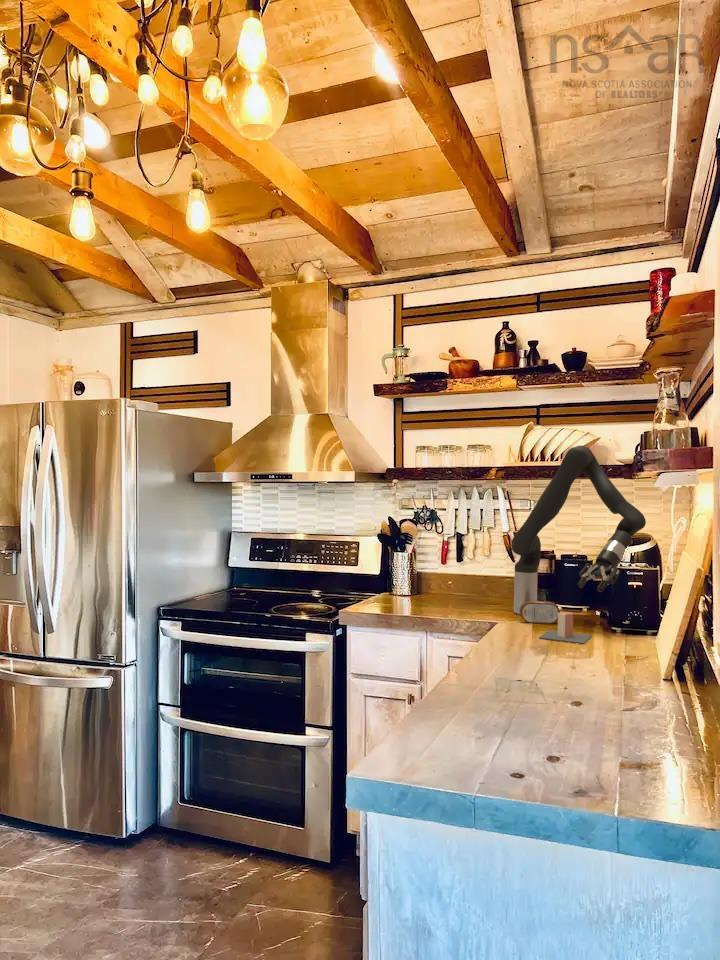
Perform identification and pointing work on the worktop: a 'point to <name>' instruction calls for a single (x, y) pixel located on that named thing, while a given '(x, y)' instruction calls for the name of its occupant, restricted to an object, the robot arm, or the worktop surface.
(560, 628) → the block
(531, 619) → the tin
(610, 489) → the robot arm
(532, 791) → the worktop surface
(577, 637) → the mat
